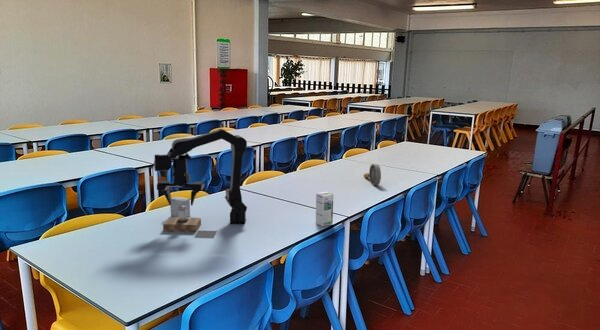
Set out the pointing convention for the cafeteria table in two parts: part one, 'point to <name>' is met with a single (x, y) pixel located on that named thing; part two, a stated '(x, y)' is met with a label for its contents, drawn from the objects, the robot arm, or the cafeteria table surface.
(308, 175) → the cafeteria table surface
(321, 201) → the syrup box
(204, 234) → the mat
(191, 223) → the socket block
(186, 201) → the medicine box
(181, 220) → the pin
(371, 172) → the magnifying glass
